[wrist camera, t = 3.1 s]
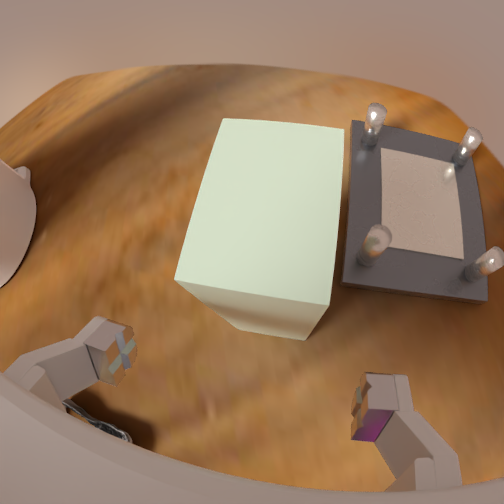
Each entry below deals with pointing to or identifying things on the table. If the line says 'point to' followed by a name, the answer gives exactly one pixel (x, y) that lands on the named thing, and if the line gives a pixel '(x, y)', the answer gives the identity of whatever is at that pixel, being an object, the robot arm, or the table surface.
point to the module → (266, 226)
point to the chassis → (415, 214)
